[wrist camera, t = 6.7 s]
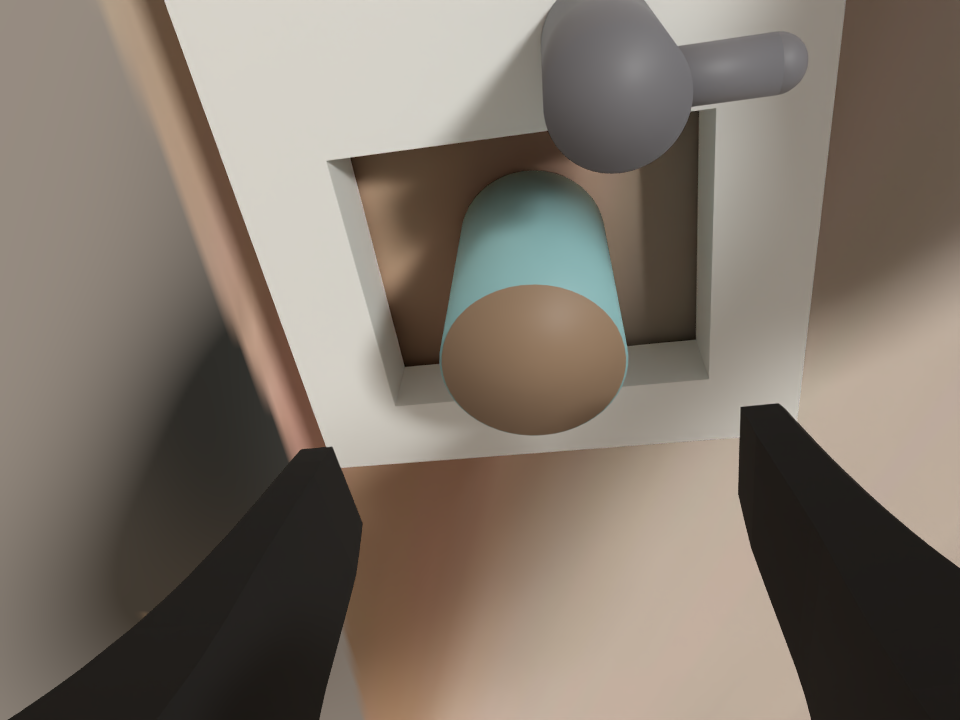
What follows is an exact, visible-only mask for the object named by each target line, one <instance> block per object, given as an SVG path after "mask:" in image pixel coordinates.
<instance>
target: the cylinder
mask: <svg viewBox="0 0 960 720" xmlns="http://www.w3.org/2000/svg"><path fill="white" fill-rule="evenodd" d="M627 368H628V350H627V343H626V338H625V333H624V328H623V322H622V317H621V312H620V307H619V302H618V296H617V291H616V286H615V281H614V275H613V270H612V265H611V260H610V255H609V249H608V244H607V239H606V234H605V229H604V223H603V220H602V216H601V213H600V211H599V209H598V207H597V205H596V203H595V202H594V200H593V199H592V197H591V196H590V195H589V194H588V193H587V192H586V191H585V190H584V189H583V188H582V187H581V186H579V185H578V184H576V183H575V182H573V181H572V180H570V179H568V178H566V177H564V176H561V175H558V174H555V173H551V172H546V171H534V170H533V171H522V172H517V173H512V174H509V175H506V176H504V177H502V178H500V179H497V180H495V181H494V182H492V183H491V184H489V185H488V186H487V187H485V188H484V189H483V190H482V191H481V192H480V193H479V194H478V195H477V196H476V197H475V198H474V200H473V201H472V203H471V204H470V206H469V208H468V210H467V212H466V214H465V217H464V220H463V224H462V229H461V235H460V241H459V246H458V252H457V258H456V263H455V269H454V275H453V280H452V286H451V292H450V297H449V303H448V309H447V315H446V320H445V326H444V332H443V337H442V343H441V349H440V370H441V375H442V378H443V381H444V384H445V386H446V388H447V390H448V392H449V393H450V395H451V396H452V398H453V399H454V401H455V402H456V403H457V404H458V405H459V406H460V407H461V408H462V409H463V410H464V411H465V412H466V413H467V414H469V415H470V416H471V417H473V418H474V419H476V420H477V421H479V422H481V423H483V424H485V425H487V426H489V427H491V428H494V429H497V430H500V431H503V432H507V433H512V434H518V435H528V436H538V435H549V434H556V433H560V432H564V431H568V430H570V429H573V428H576V427H578V426H580V425H583V424H585V423H587V422H588V421H590V420H591V419H593V418H595V417H596V416H597V415H599V414H600V413H601V412H602V411H604V410H605V409H606V408H607V407H608V406H609V405H610V404H611V403H612V401H613V400H614V399H615V397H616V396H617V394H618V393H619V391H620V389H621V387H622V385H623V383H624V380H625V377H626V373H627Z"/></svg>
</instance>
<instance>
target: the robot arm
mask: <svg viewBox="0 0 960 720" xmlns="http://www.w3.org/2000/svg"><path fill="white" fill-rule="evenodd" d="M738 495H739V499H740V503H741V508H742V512H743V516H744V521H745V525H746V529H747V533H748V537H749V541H750V545H751V549H752V551H753V554H754V557H755V560H756V562H757V565H758V568H759V571H760V573H761V576H762V579H763V581H764V584H765V587H766V590H767V592H768V595H769V598H770V600H771V603H772V606H773V608H774V611H775V614H776V616H777V619H778V622H779V624H780V627H781V630H782V632H783V635H784V638H785V640H786V643H787V646H788V648H789V651H790V654H791V656H792V659H793V662H794V664H795V667H796V670H797V673H798V676H799V679H800V682H801V685H802V688H803V691H804V694H805V698H806V701H807V705H808V709H809V713H810V716H811V720H960V568H959V567H958V566H956V565H955V564H953V563H952V562H951V561H949V560H948V559H947V558H945V557H944V556H943V555H941V554H940V553H939V552H937V551H936V550H935V549H934V548H932V547H931V546H930V545H928V544H927V543H926V542H925V541H923V540H922V539H921V538H920V537H918V536H917V535H916V534H915V533H913V532H912V531H911V530H910V529H909V528H907V527H906V526H905V525H904V524H903V523H902V522H900V521H899V520H898V519H897V518H896V517H895V516H893V515H892V514H891V513H890V512H889V511H887V510H886V509H885V508H884V507H883V506H882V505H881V504H880V503H878V502H877V501H876V500H875V499H874V498H873V497H872V496H871V495H870V494H868V493H867V492H866V491H865V490H864V489H863V488H862V487H861V486H860V485H859V484H858V483H857V482H856V481H855V480H854V479H853V478H852V477H851V476H849V475H848V474H847V473H846V472H845V471H844V470H843V469H842V468H841V467H840V466H839V465H838V464H837V463H836V462H835V461H834V460H833V459H832V458H831V457H830V456H829V455H828V454H827V453H826V452H825V451H824V450H823V449H822V448H821V447H820V446H819V445H818V444H817V443H816V442H815V440H814V439H813V438H812V437H811V436H810V435H809V434H808V433H807V432H806V431H805V430H804V429H803V428H802V427H801V425H800V424H799V423H798V422H797V421H796V420H795V419H794V418H793V417H792V415H791V414H790V413H789V412H788V411H787V410H786V409H785V408H784V407H783V406H782V405H780V404H779V403H775V404H764V405H754V406H744V407H740V445H739V483H738ZM362 524H363V523H362V521H361V518H360V516H359V513H358V511H357V508H356V506H355V503H354V500H353V498H352V495H351V493H350V490H349V488H348V485H347V483H346V480H345V477H344V475H343V472H342V470H341V467H340V465H339V462H338V459H337V457H336V454H335V452H334V449H333V447H322V448H312V449H301V450H300V451H299V452H298V454H297V455H296V456H295V457H294V458H293V459H292V460H291V461H290V463H289V464H288V465H287V466H286V467H285V468H284V470H283V471H282V472H281V473H280V474H279V476H278V477H277V478H276V479H275V480H274V481H273V483H272V484H271V485H270V486H269V487H268V489H267V490H266V491H265V492H264V493H263V495H262V496H261V497H260V498H259V500H257V502H256V503H255V504H254V505H253V506H252V507H251V509H250V510H249V511H248V512H247V513H246V514H245V515H244V517H243V518H242V519H241V520H240V521H239V522H238V523H237V525H236V526H235V527H234V528H233V529H232V530H231V531H230V533H229V534H228V535H227V536H226V537H225V538H224V539H223V540H222V541H221V542H220V543H219V544H218V545H217V546H216V547H215V549H214V550H213V551H212V552H211V553H210V554H209V555H208V556H207V557H206V558H205V559H204V560H203V561H202V562H201V563H200V564H199V565H198V566H197V568H196V569H195V570H194V571H193V572H192V573H191V574H190V575H189V576H188V577H187V578H186V579H185V580H184V581H183V582H182V583H181V584H180V585H179V586H178V587H177V588H176V589H175V590H174V591H172V592H171V593H170V594H169V595H168V596H167V597H166V598H165V599H164V600H163V601H162V602H161V603H160V604H159V605H157V606H156V607H155V608H154V609H153V610H152V611H151V612H150V613H148V614H147V615H146V616H145V617H144V618H143V619H142V620H141V621H140V622H138V623H137V624H136V625H135V626H134V627H133V628H131V629H130V630H129V631H128V632H127V633H125V634H124V635H123V636H121V637H120V638H119V639H118V640H116V641H115V642H114V643H113V644H111V645H110V646H109V647H108V648H106V649H105V650H104V651H103V652H101V653H100V654H99V655H98V656H96V657H95V658H94V659H93V660H91V661H90V662H89V663H88V664H86V665H85V666H84V667H83V668H81V669H80V670H79V671H77V672H76V673H75V674H73V675H72V676H70V677H69V678H68V679H67V680H65V681H64V682H62V683H61V684H60V685H58V686H57V687H55V688H54V689H53V690H51V691H50V692H48V693H47V694H45V695H44V696H42V697H41V698H40V699H38V700H37V701H35V702H34V703H32V704H31V705H29V706H28V707H26V708H25V709H24V710H22V711H21V712H19V713H18V714H16V715H14V716H13V717H11V718H10V719H8V720H319V718H320V713H321V708H322V704H323V699H324V695H325V691H326V686H327V683H328V679H329V675H330V672H331V668H332V664H333V660H334V657H335V653H336V649H337V645H338V642H339V638H340V634H341V631H342V627H343V623H344V620H345V616H346V612H347V608H348V604H349V601H350V597H351V593H352V589H353V585H354V581H355V577H356V571H357V564H358V557H359V550H360V541H361V533H362Z"/></svg>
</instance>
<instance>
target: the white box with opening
mask: <svg viewBox="0 0 960 720" xmlns="http://www.w3.org/2000/svg"><path fill="white" fill-rule="evenodd" d="M164 1H165V4H166V7H167V9H168V12H169V15H170V18H171V20H172V23H173V26H174V29H175V31H176V34H177V37H178V40H179V42H180V45H181V48H182V51H183V53H184V56H185V59H186V62H187V65H188V67H189V70H190V73H191V76H192V78H193V81H194V84H195V87H196V89H197V92H198V95H199V98H200V100H201V103H202V106H203V109H204V111H205V114H206V117H207V120H208V122H209V125H210V128H211V131H212V133H213V136H214V139H215V142H216V144H217V147H218V150H219V153H220V155H221V158H222V161H223V164H224V167H225V169H226V172H227V175H228V178H229V180H230V183H231V186H232V189H233V191H234V194H235V197H236V200H237V202H238V205H239V208H240V211H241V213H242V216H243V219H244V222H245V224H246V227H247V230H248V233H249V235H250V238H251V241H252V244H253V246H254V249H255V252H256V255H257V258H258V260H259V263H260V266H261V269H262V271H263V274H264V277H265V280H266V282H267V285H268V288H269V291H270V293H271V296H272V299H273V302H274V304H275V307H276V310H277V313H278V315H279V318H280V321H281V324H282V326H283V329H284V332H285V335H286V337H287V340H288V343H289V346H290V348H291V351H292V354H293V357H294V360H295V362H296V365H297V368H298V371H299V373H300V376H301V379H302V382H303V384H304V387H305V390H306V393H307V395H308V398H309V401H310V404H311V406H312V409H313V412H314V415H315V417H316V420H317V423H318V426H319V428H320V431H321V434H322V437H323V439H324V442H325V445H326V447H333V449H334V452H335V454H336V457H337V459H338V462H339V465H340V467H341V468H346V467H359V466H372V465H385V464H398V463H412V462H425V461H438V460H451V459H465V458H478V457H491V456H504V455H517V454H531V453H544V452H557V451H570V450H583V449H597V448H610V447H623V446H636V445H649V444H663V443H676V442H689V441H702V440H715V439H729V438H740V407H744V406H754V405H764V404H775V403H779V404H780V405H782V406H783V407H784V408H785V409H786V410H787V411H788V412H789V413H790V414H791V415H792V417H793V418H794V419H795V420H796V421H797V419H798V410H799V401H800V393H801V384H802V376H803V367H804V358H805V350H806V341H807V333H808V324H809V315H810V307H811V298H812V289H813V281H814V272H815V264H816V255H817V246H818V238H819V229H820V221H821V212H822V203H823V195H824V186H825V178H826V169H827V160H828V152H829V143H830V134H831V126H832V117H833V109H834V100H835V91H836V83H837V74H838V66H839V57H840V48H841V40H842V31H843V23H844V14H845V5H846V0H164ZM698 110H699V156H698V228H697V299H696V340H687V341H676V342H666V343H655V344H644V345H634V346H627V350H628V368H627V373H626V377H625V380H624V383H623V385H622V387H621V389H620V391H619V393H618V394H617V396H616V397H615V399H614V400H613V401H612V403H611V404H610V405H609V406H608V407H607V408H606V409H605V410H604V411H602V412H601V413H600V414H599V415H597V416H596V417H595V418H593V419H591V420H590V421H588V422H587V423H585V424H583V425H580V426H578V427H576V428H573V429H570V430H568V431H564V432H560V433H556V434H549V435H538V436H528V435H518V434H512V433H507V432H503V431H500V430H497V429H494V428H491V427H489V426H487V425H485V424H483V423H481V422H479V421H477V420H476V419H474V418H473V417H471V416H470V415H469V414H467V413H466V412H465V411H464V410H463V409H462V408H461V407H460V406H459V405H458V404H457V403H456V402H455V401H454V399H453V398H452V396H451V395H450V393H449V392H448V390H447V388H446V386H445V384H444V381H443V378H442V375H441V370H440V364H432V365H421V366H410V367H405V366H404V362H403V358H402V355H401V351H400V347H399V343H398V339H397V335H396V332H395V328H394V324H393V320H392V316H391V312H390V309H389V305H388V301H387V297H386V293H385V289H384V286H383V282H382V278H381V274H380V270H379V267H378V263H377V259H376V255H375V251H374V247H373V244H372V240H371V236H370V232H369V228H368V224H367V221H366V217H365V213H364V209H363V205H362V201H361V198H360V194H359V190H358V186H357V182H356V178H355V175H354V171H353V167H352V163H351V159H350V157H358V156H365V155H372V154H380V153H387V152H395V151H402V150H409V149H417V148H424V147H432V146H439V145H446V144H454V143H461V142H469V141H476V140H483V139H491V138H498V137H506V136H513V135H520V134H528V133H535V132H543V131H548V132H549V134H550V136H551V139H552V140H553V142H554V143H555V145H556V146H557V148H558V149H559V150H560V151H561V152H562V154H564V155H565V156H566V157H567V158H568V159H569V160H571V161H572V162H574V163H575V164H577V165H579V166H581V167H583V168H585V169H588V170H591V171H595V172H600V173H611V174H612V173H623V172H628V171H632V170H635V169H639V168H641V167H643V166H645V165H648V164H649V163H651V162H653V161H654V160H656V159H657V158H659V157H660V156H661V155H663V154H664V153H665V152H666V151H667V150H668V149H669V148H670V147H671V146H672V145H673V144H674V142H675V141H676V140H677V139H678V137H679V136H680V134H681V132H682V131H683V129H684V127H685V125H686V123H687V120H688V117H689V115H690V112H691V111H698Z"/></svg>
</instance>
